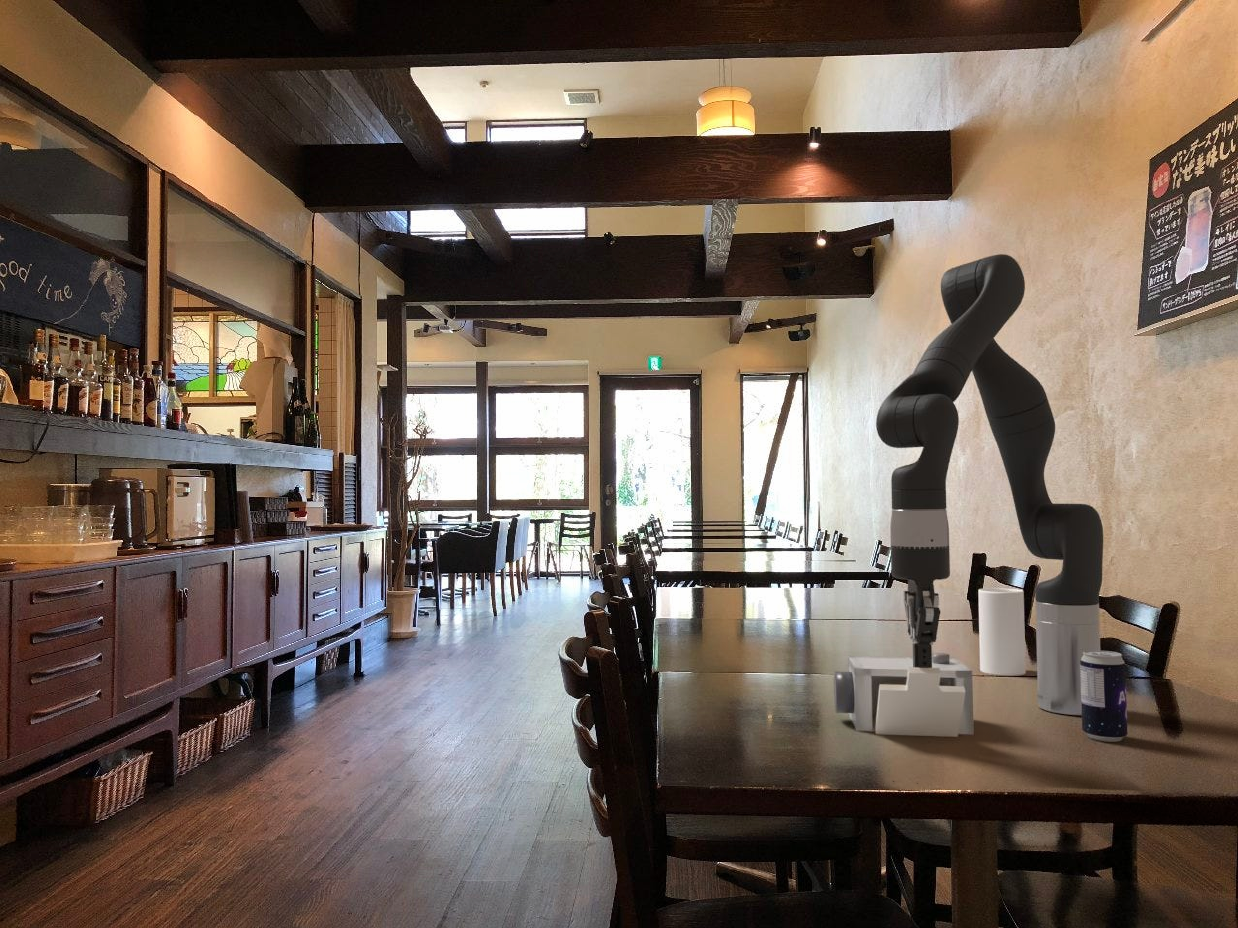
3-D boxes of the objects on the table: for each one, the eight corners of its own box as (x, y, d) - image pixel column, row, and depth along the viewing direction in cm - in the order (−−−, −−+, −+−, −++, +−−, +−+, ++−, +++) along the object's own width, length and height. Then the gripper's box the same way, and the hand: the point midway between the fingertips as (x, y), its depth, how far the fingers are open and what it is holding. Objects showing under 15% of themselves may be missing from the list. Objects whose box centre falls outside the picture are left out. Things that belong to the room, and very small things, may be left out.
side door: (955, 734, 123) (966, 667, 116) (957, 741, 122) (968, 674, 115) (874, 732, 125) (881, 666, 118) (875, 738, 124) (882, 672, 117)
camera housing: (957, 724, 133) (955, 650, 133) (973, 742, 123) (972, 662, 123) (833, 720, 136) (831, 647, 136) (839, 738, 126) (838, 659, 126)
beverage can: (1126, 745, 121) (1124, 658, 122) (1080, 739, 124) (1078, 654, 125) (1128, 735, 126) (1125, 651, 126) (1084, 730, 129) (1081, 648, 129)
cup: (1028, 670, 174) (1026, 589, 175) (1022, 677, 167) (1020, 593, 168) (984, 666, 178) (982, 587, 179) (976, 673, 171) (974, 590, 172)
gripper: (959, 545, 111) (963, 683, 111) (938, 539, 124) (941, 662, 124) (898, 546, 113) (901, 681, 112) (883, 539, 126) (886, 661, 125)
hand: (922, 671), depth 118 cm, fingers closed
